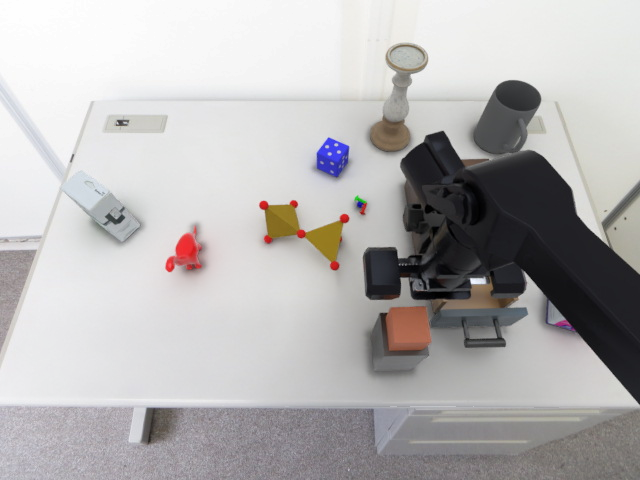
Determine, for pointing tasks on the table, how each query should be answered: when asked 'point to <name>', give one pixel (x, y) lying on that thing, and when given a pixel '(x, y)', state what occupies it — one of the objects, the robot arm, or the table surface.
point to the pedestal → (392, 359)
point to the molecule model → (286, 224)
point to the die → (332, 157)
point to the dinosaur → (185, 253)
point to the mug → (507, 117)
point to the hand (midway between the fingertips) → (425, 294)
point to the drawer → (478, 315)
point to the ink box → (100, 205)
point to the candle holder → (398, 96)
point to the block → (408, 328)
